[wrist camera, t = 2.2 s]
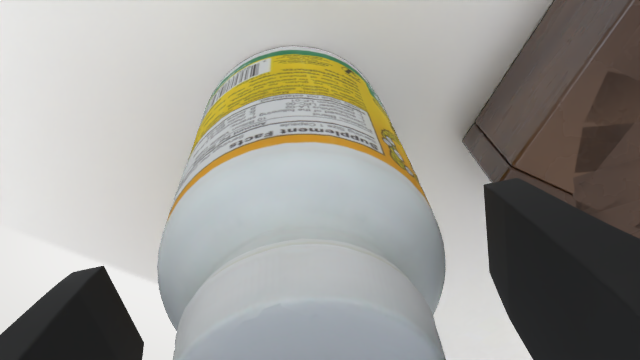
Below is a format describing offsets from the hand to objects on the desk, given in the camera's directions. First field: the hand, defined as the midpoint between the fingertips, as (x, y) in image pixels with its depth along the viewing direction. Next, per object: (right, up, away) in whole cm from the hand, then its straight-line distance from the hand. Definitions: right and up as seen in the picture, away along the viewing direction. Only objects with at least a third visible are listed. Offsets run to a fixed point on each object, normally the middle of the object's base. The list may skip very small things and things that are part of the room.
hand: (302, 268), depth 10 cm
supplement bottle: (0, +3, +6) cm, 7 cm away
